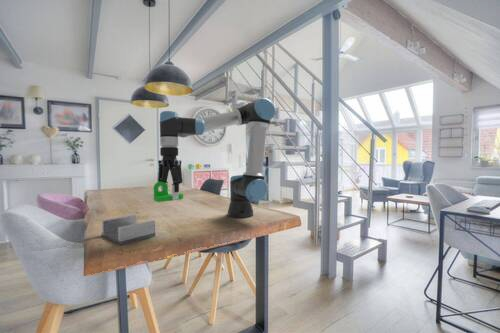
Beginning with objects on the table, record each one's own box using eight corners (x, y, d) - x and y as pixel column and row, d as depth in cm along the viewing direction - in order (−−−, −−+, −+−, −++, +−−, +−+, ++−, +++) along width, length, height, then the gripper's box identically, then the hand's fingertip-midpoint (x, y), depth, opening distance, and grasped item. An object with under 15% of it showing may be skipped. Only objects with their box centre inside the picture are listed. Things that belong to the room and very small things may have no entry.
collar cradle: (155, 236, 101) (155, 220, 101) (120, 245, 90) (120, 228, 90) (134, 228, 113) (134, 214, 113) (101, 235, 102) (101, 220, 102)
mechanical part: (157, 202, 100) (157, 183, 99) (153, 200, 105) (153, 182, 104) (185, 199, 107) (185, 181, 107) (180, 197, 112) (180, 180, 111)
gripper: (148, 147, 108) (149, 197, 109) (176, 145, 96) (176, 202, 97) (163, 148, 114) (164, 195, 115) (190, 146, 102) (191, 199, 103)
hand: (170, 198), depth 106 cm, fingers closed on mechanical part, 7 cm apart
